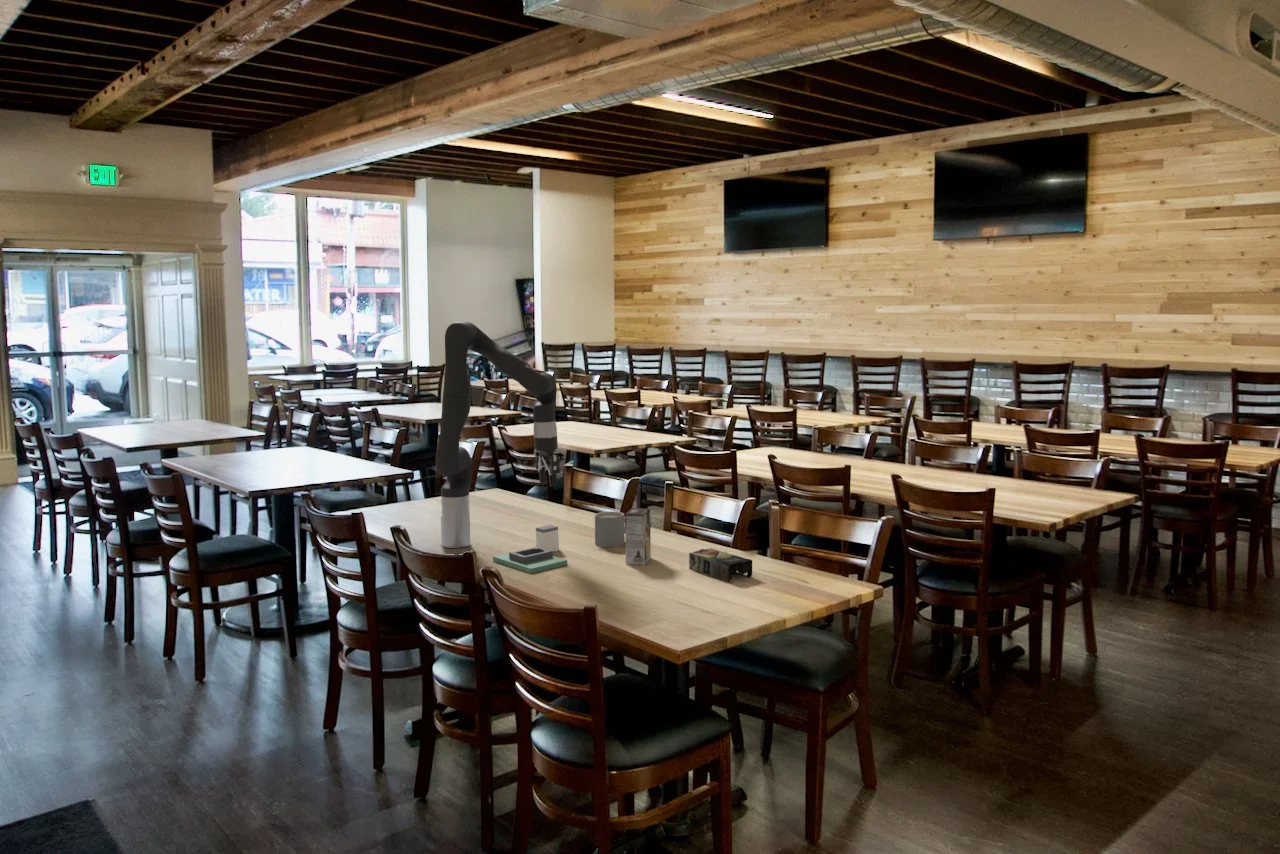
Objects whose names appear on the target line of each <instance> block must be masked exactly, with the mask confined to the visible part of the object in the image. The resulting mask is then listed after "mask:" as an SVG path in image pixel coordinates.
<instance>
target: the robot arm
mask: <svg viewBox="0 0 1280 854" xmlns="http://www.w3.org/2000/svg"><path fill="white" fill-rule="evenodd" d="M469 350H470V351H472V352H475V353H477V354H479V355H481V356H483V357H484V358H486V359H487V360H488V361H489V362H490V363H491V364H492V365H493V366H494V367H495V368H496V369H497V370H499V371H500V373H502V374H504V375H505V376H507V377H509V378H511V379H512V380H514V381H515V382H517V383H518V384H519V385H520V386H522V387H523V388H524V389H525V390H526V391H527V392H529V393H530V394H532V395H534V396H536V401H535V404H534V405H533V412H532V413H533V442H534V443H533V445H534V450H535V452H534V457H535V458H534V459H535V469H536V470H537V472H538V474H539V475H538V476H539V483H540V484H546V483H547V481H548V480H549V486H550V487H551V488H554V487H557V486H558V480H557V479H558V478H557V476H558V474H560V459H559V458H560V457H559V455H558V454H554V451H556V450H558V448H559V447H558V446H559V445H558V428H557V423H556V410H555V409H556V408H555V405H556V399H557V390H558V389H557V388H558V387H557V381H556V379H555V377H554V376H553V375H552V374H551V373H547V372H544V373H539V372H537V371H536V370H535V369H533V368H532V365H531V364H530V363H528V362H527V361H526V360H524V359H522V358H521V357H519V356H518V355H516V354H514V353H513V352H511V351H509V350H507V349H506V348H504V347H503V346H501V345H500V344H498V343H497V342H496V341H494V340H493V339H491V337H489V336H488V335H487V334H486V333H485V332H484V331H482V330H481V329H480V328H479V327H478V326H477V325H475V323H472V322H469V321H456V322H451V324H449V325H448V326H447V328H446V331H445V334H444V358H445V361H444V362H445V365H444V377H443V389H442V390H443V391H442V403H441V417H440V418H441V419H440V430H439V437H438V444H437V448H436V449H437V450H436V456H435V468H436V470H437V472H438V473H439V475H441V476H442V477H445V478H446V479H445V482H444V483H443V485H442V486H441V488H440V497H441V498H440V499H441V500H440V501H441V503H440V504H441V517H440V526H441V530H440V531H441V532H440V533H441V544H442V546H443V548H449V549H460V548H461V547H462V548H465V547H469V546H471V544H472V543H471V541H472V540H471V516H470V515H471V513H470V509H471V508H470V489H471V485H472V458H471V455H470V453H469V451H468V450H467V449H466V448H465V447H463V446H460V438H461V434H462V431H463V429H464V427H465V425H466V422H467V420H468V418H469V414H470V412H471V405H472V403H471V402H472V386H471V380H470V378H469V375H468V370H467V369H468V368H467V360H468V354H469V353H468V352H469ZM547 471H548V477H549V479H548V480H547Z"/></svg>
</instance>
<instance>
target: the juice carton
mask: <svg viewBox="0 0 1280 854" xmlns="http://www.w3.org/2000/svg"><path fill="white" fill-rule="evenodd" d="M688 570H691V571H694V572H696V573H699V574H700V573H701V574H703V575H706V576H708V577H711V578H714V579H716V580H717V579H718V580H720V581H722V582H724V583H729V584H731V583H732V581H731V578H732V573H733V572H735V573H738V574H741V575H744V574H746V575H745V576H746V577H747V578H750V577H752V576H753V560H752V559H750V558H746V557H742V556H739V555H736V554H732V553H729V552H725V551H721V550H718V549H716V548H711V547H710V548H701V549H698V550H696V551H693V552H692V551H691V552H689V553H688Z"/></svg>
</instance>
